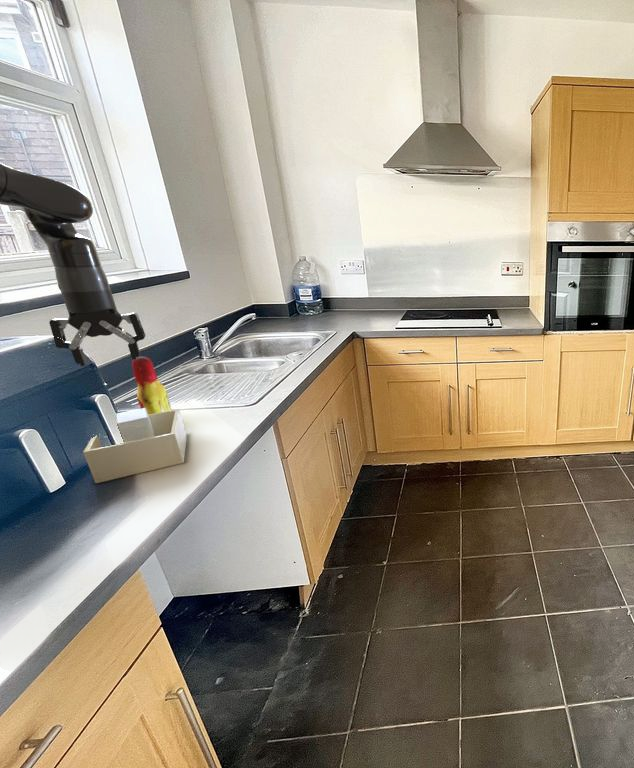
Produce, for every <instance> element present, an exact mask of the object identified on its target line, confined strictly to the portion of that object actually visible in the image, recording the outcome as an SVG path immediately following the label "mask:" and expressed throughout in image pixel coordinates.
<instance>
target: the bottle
mask: <svg viewBox="0 0 634 768" xmlns="http://www.w3.org/2000/svg"><path fill="white" fill-rule="evenodd" d="M131 365H132V373H133V376H134V379H135V382H136V384H137V392H136V400H137V402H138V405H139V409H141V408H146V410H147V413H148V415H149V414H155V413H160V412H166V411H171V410H172V407H171V406H172V405H171V403H170V399H169V395H168V392H167V389H166V387H165V386H164V385H163V384H162V383H161V382H160V381H159V378H158V376H157V372H156V369H155V367H154V364H153V362H152V360H151V359H150V358H148V357H147V356H139V357H138V358H137V360H133V359H132V362H131Z"/></svg>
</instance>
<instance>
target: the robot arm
mask: <svg viewBox="0 0 634 768" xmlns="http://www.w3.org/2000/svg"><path fill="white" fill-rule="evenodd" d="M0 205H3V206H9V207H20V208H22V209H23V212H24V213H25V215H26V217H27V219H28V220H29V222H30V224H31V225H32V227H33V228H34V230H35V231H36V232H37V234H38V236H39V237H40V238H41V240H42V241H43V242H44V244H45V246H46V248H47V249H48V250H47V251H48V253H49V256H50V259H51V262H52V265H53V267H54V272H55V273H54V274H55V279H56V281H57V286H58V287H57V288H58V290H60V294H61V296H62V299H63V301H64V304H65V307H66V310H67V313H68V318H59V317H55V318H52V319H51V320H49V326H50V330H51V334H52V337H53V336H54V337H53V341H54V345H55V347H56V348H58V349H68V350H69V351H70V352H71V355H72V357H73V360H74V363H76V364H77V365H80V367H85V366H87V365H88V360H87V357H86V355H85V352H84V349H83V347H81V344H82V343H83V341H84V340H85V338H86V337H90V338H96V337H99V336H103V337H107V336H112V335H115V336H117V337H118V338H120V339H122V340H124V341H125V342H127V347H128V351H129V353H130V356H131V359H132V361H133V360H137V358H138V357H141V356H140V355H141V351H140V348H139V345H138V342H139V341H142V340H144V339H145V338H146V333H145V330H144V327H143V324H142V322H141V319H140V317H139V314H138V313H137V312H131V313H126V314H121V313H120V312H119V311H118V309H117V306H116V303H115V299H114V296H113V293H112V290H111V287H110V284H109V283H110V282H109V280H108V277H107V275H106V273H105V271H104V269H103V266H102V263H101V260H100V257H99V253H98V251H97V247H96V245H95V242H93V241H92V239H91V238H88V237H85V236H83V235H81V234H79V232H78V230H76V228H75V226H74V224H79V223H83V222H86V221H88V220H89V219H90V218H91V217H92V216H93V213H94V207H93V204H92V202H91V200H90V199H89V198H88V196H86V195H85V193H83V192H82V191H80V190H79V189H78V188H75V187H74V186H72V185H70V184H67V183H65V182H62V181H59V180H56V179H53V178H49V177H45V176H41V175H37V174H35V173H31V172H27V171H23V170H19V169H16V168H12V167H10V166H7V165H5V164H3V163H1V162H0ZM123 320H124V321H126V322H127V324H131V326H132V328H133V330H134V333H135V335H132V334H131V333H129V332H128V331H127V330H126V329H124V328H123V327H122V326H120V325H121V324H122V321H123ZM67 325H70V326H71V327H72V328H74V329H76V330H77V332H76V334H75V335H74V337H73V338H72V340H71V341H67V338H66V334H65V331H64V330H65V329H66V328H68V327H67ZM57 337H59V338H57ZM60 338H61V339H60ZM62 339H63V340H64V341H63V340H62Z"/></svg>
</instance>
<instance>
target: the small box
mask: <svg viewBox="0 0 634 768" xmlns="http://www.w3.org/2000/svg"><path fill="white" fill-rule="evenodd" d="M115 416H116V417H115V418H116V419H115V420H117V426H118V429H119V431H120V434H121V437H122V439H123V442H124V443H125V442H130V441H135V440H140V439H145V438H149V437H154V436H155V435H154V432H153V429H152V425H151V422H150V419H149V416H148V413H147V410H146V408H137V409H131V410H126V411H122V412H121V411H120V412H116V413H115Z"/></svg>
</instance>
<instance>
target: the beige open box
mask: <svg viewBox="0 0 634 768" xmlns="http://www.w3.org/2000/svg"><path fill="white" fill-rule="evenodd" d="M148 416H149V419H150V422H151V425H152V429H153V432H154V435H155V436H154V437H149V438H145V439H140V440H135V441H130V442H125V443H120V444H115V445H110V446H105V447H102V445H101V443H100V440H99V438H98V436H97V435H96V436H95V437H93V438H92V437H91V438H90V440H89V441H88V443H87V445H86V447H85V448H84V450H83V451H82V452H83V456H84V458H85V461H86V463H87V466H88V468H89V471H90V473H91V475H92V478H93V481H94V483H95V484H99V483H104V482H108V481H113V480H116V479H120V478H125V477H129V476H133V475H137V474H142V473H145V472H150V471H154V470H159V469H162V468H166V467H171V466H175V465H179V464H183V463H184V462H185V455H186V448H187V447H186V445H187V439H188V438H187V437H188V434H187V431H186V427H185V423H184V421H183V417H182V414H181V410H180V408H177V409H171V411H166V412H160V413H155V414H149V415H148Z"/></svg>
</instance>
